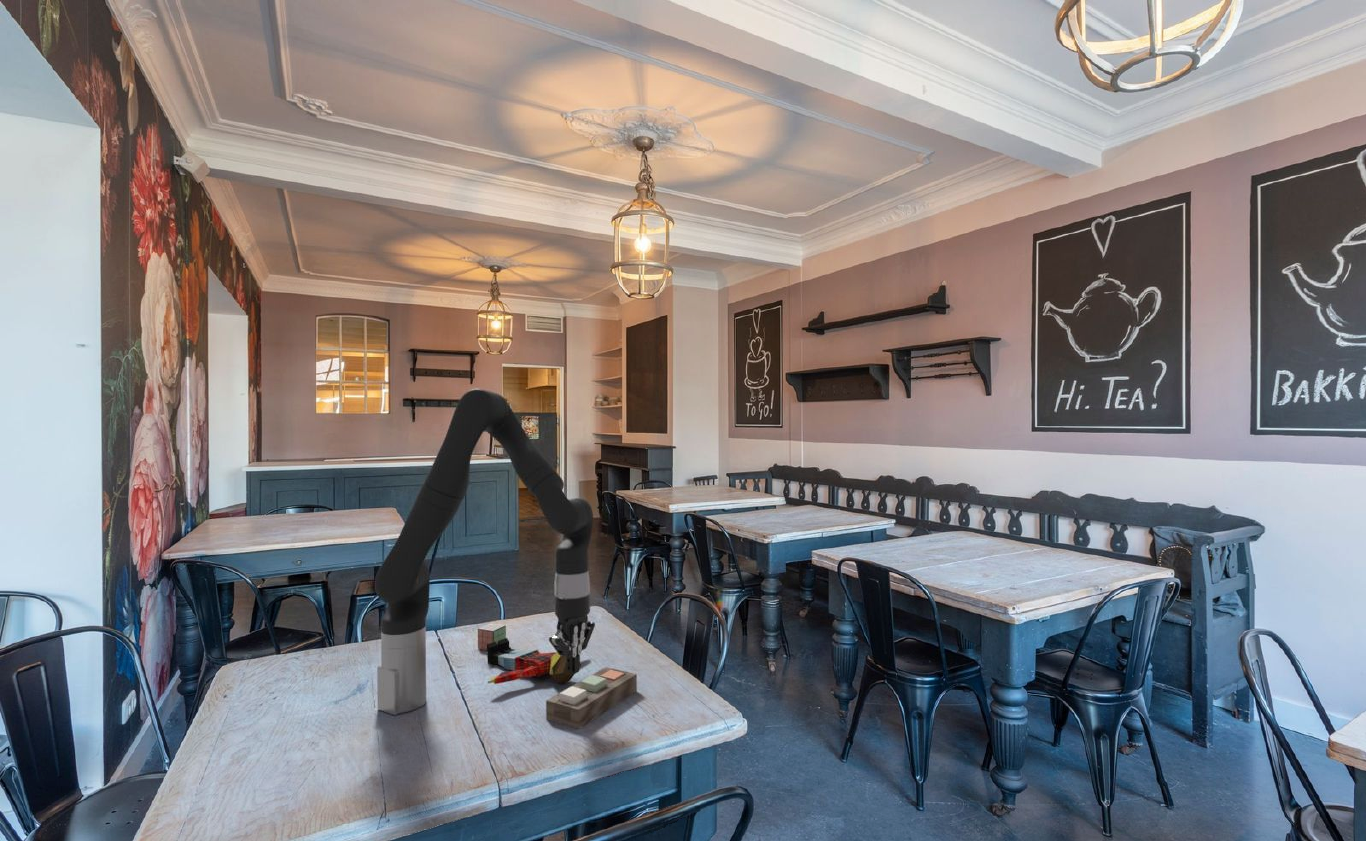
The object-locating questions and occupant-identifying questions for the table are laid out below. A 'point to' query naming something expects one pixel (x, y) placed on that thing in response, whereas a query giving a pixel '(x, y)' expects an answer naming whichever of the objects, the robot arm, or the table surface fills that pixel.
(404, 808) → the table surface
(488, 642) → the puzzle toy
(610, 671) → the terracotta button
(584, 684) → the sage button
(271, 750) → the table surface
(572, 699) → the cream button
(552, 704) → the button board
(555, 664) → the toy
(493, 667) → the table surface
